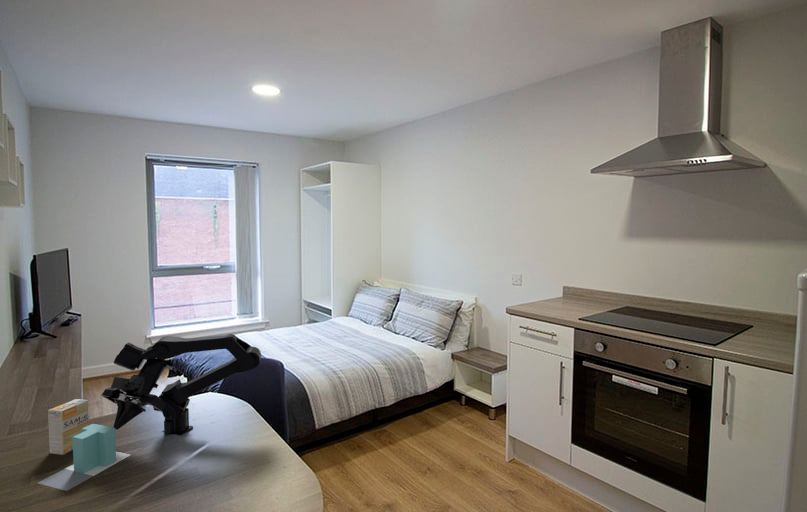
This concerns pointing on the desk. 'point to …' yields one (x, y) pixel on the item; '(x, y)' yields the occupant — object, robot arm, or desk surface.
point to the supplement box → (66, 424)
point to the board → (76, 475)
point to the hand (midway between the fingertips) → (115, 429)
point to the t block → (94, 447)
